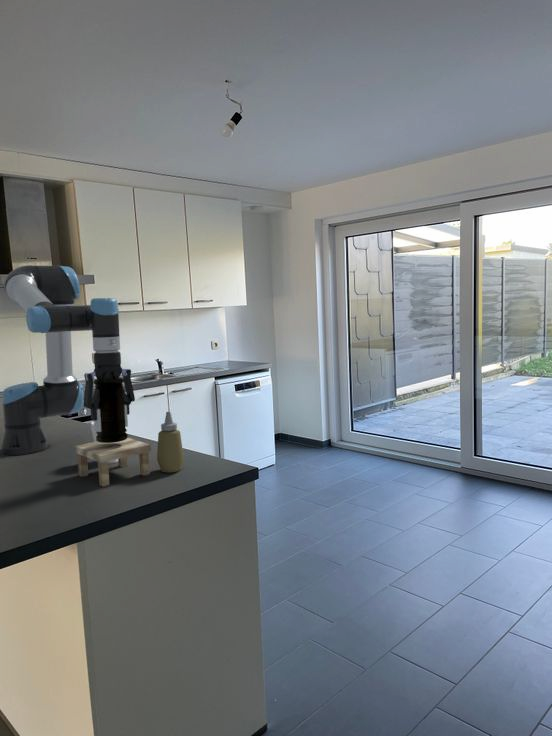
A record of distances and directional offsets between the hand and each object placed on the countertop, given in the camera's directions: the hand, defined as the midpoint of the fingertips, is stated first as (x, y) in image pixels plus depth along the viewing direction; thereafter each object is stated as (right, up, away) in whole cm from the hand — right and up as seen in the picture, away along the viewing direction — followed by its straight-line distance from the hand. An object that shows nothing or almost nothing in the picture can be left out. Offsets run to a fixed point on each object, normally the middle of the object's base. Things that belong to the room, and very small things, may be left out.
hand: (111, 428), depth 163 cm
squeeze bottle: (+17, -13, +5) cm, 22 cm away
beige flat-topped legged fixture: (0, -14, +2) cm, 14 cm away
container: (0, -3, 0) cm, 4 cm away
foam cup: (-6, -13, +16) cm, 22 cm away
